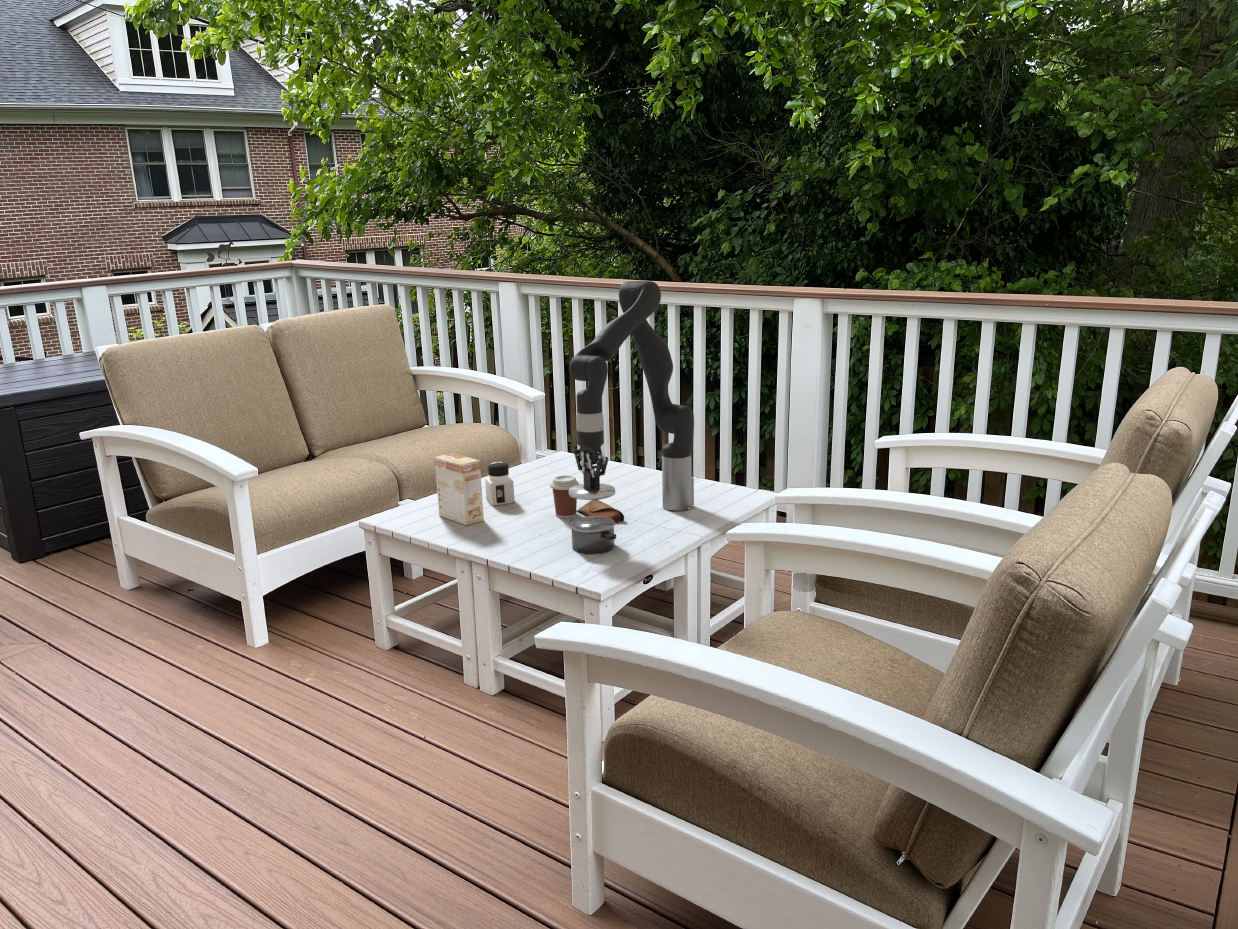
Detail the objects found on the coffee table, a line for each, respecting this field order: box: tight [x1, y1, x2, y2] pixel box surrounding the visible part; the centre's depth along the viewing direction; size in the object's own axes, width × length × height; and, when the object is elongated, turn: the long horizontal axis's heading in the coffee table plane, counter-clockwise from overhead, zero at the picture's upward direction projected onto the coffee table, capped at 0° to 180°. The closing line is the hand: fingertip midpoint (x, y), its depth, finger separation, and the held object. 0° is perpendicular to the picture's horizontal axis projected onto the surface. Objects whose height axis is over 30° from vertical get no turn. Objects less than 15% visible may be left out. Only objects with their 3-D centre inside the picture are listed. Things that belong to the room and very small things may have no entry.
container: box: [484, 461, 516, 507], centre depth 311 cm, size 8×8×13 cm
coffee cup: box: [549, 474, 580, 519], centre depth 296 cm, size 9×9×12 cm
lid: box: [569, 470, 616, 501], centre depth 264 cm, size 13×13×6 cm
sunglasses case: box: [576, 499, 625, 524], centre depth 296 cm, size 18×7×7 cm
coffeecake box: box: [434, 452, 485, 526], centre depth 295 cm, size 15×7×20 cm, turn 44°
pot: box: [569, 516, 617, 555], centre depth 269 cm, size 13×19×7 cm, turn 36°
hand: (591, 487), depth 265 cm, fingers closed on lid, 3 cm apart
